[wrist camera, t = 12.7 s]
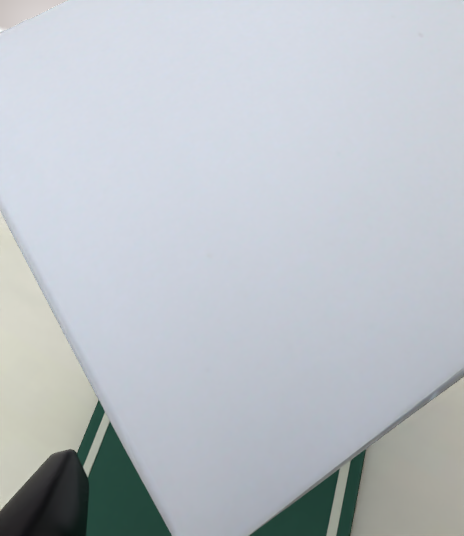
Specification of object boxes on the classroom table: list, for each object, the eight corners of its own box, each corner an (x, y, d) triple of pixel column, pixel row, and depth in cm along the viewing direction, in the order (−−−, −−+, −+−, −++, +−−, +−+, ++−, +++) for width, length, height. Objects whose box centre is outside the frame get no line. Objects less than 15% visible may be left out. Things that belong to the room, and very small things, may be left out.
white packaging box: (142, 315, 17) (-92, 52, 6) (289, 224, 19) (336, -144, 7) (242, 485, 15) (176, 614, 3) (405, 365, 16) (784, 147, 4)
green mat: (294, 822, 12) (295, 837, 12) (-10, 675, 14) (-18, 683, 13) (406, 219, 19) (409, 214, 18) (194, 171, 21) (193, 165, 20)
